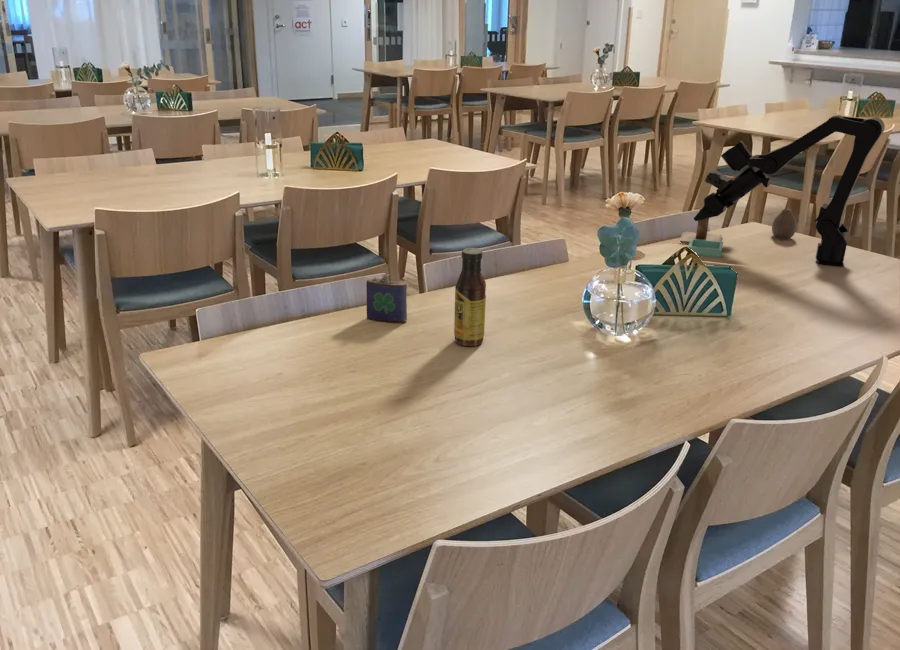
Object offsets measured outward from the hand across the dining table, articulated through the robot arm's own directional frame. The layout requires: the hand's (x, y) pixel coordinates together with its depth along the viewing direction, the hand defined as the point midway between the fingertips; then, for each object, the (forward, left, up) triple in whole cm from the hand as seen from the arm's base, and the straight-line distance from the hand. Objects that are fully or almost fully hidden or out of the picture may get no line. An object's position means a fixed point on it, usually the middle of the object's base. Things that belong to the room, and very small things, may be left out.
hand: (699, 216), depth 238 cm
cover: (-1, 0, -7) cm, 7 cm away
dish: (-3, +12, -7) cm, 14 cm away
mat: (-1, 0, -7) cm, 8 cm away
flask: (+59, +94, -8) cm, 111 cm away
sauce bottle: (+38, +99, -8) cm, 106 cm away
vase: (-24, -14, -8) cm, 29 cm away
